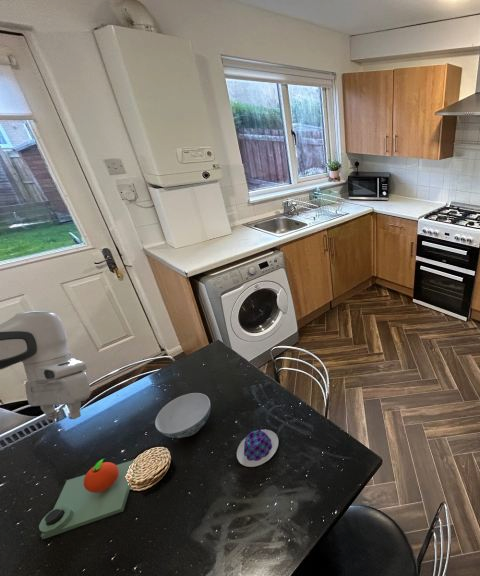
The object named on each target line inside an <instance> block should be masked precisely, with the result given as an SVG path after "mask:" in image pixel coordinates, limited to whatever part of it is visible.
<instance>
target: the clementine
mask: <svg viewBox="0 0 480 576" xmlns="http://www.w3.org/2000/svg"><path fill="white" fill-rule="evenodd" d="M104 460H105V458H102V459H100V460H99V461H97V462H96V463H95V465H94V466H93V467H91V468H90V469H89V470H88V471H87V473H86V474H85V475H86V476H85V478H84V487H85V489H86V490H88V491H89V492H95V493H97V492H101V491H104V490H106V489H108V488H109V487H111V486H112V485H113V484H114V482H115V481H116V479H117V477H118V473H119V470H118V467H117V466H116V465H117V464H115V463H113V462H110V461H105V462H104Z"/></svg>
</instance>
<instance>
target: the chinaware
mask: <svg viewBox="0 0 480 576" xmlns="http://www.w3.org/2000/svg"><path fill="white" fill-rule="evenodd" d="M211 408H212V407H211V400H210V398H209V397H208V396H207V395H206V394H204V393H200V392H192V393H191V392H190V393H186V394H183V395H180V396H178V397H176V398H174V399H172V400H171V401H169V402H168V403H167V404H165V405H164V406H163V407H162V408H161V409H160V411H158V414H157V415H156V417H155V420H154V425H155V428H156V430H157V431H158V432H159V433H161V434H162V435H163V436H165V437H168V438H172V439H182V438H186V437H187V438H188V437H192V436H193V435H195V434H196V433H198V432H199V431H200V430H201V429H202V428H203V427H204V425H205V424H206V423H207V421H208V419H209V417H210V413H211Z"/></svg>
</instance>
